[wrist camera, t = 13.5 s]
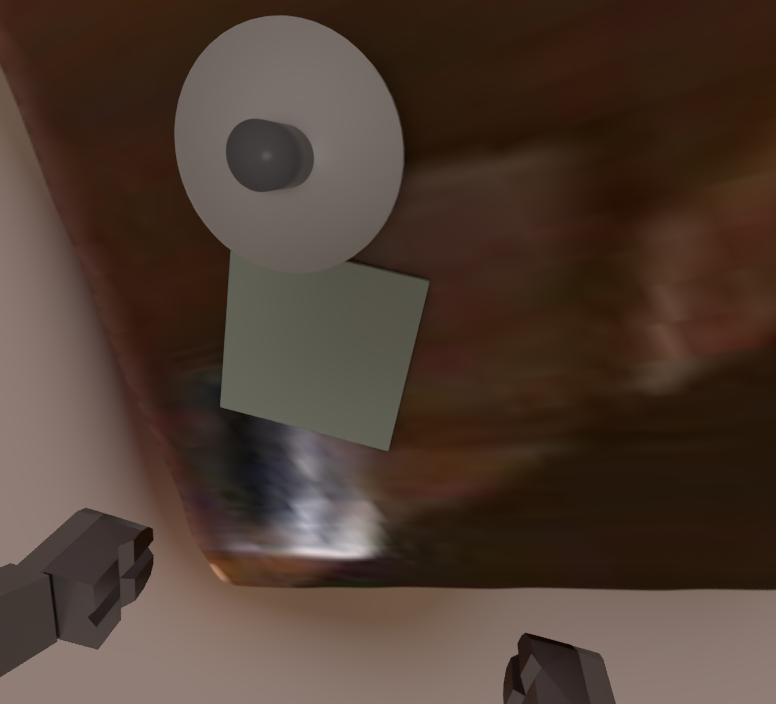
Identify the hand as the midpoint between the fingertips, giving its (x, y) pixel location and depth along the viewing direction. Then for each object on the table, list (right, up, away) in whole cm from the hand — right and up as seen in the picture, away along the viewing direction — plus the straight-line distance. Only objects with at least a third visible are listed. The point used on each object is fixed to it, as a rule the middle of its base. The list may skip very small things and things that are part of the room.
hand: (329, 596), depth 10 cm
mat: (-5, +6, +30) cm, 31 cm away
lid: (-5, +17, +19) cm, 26 cm away
